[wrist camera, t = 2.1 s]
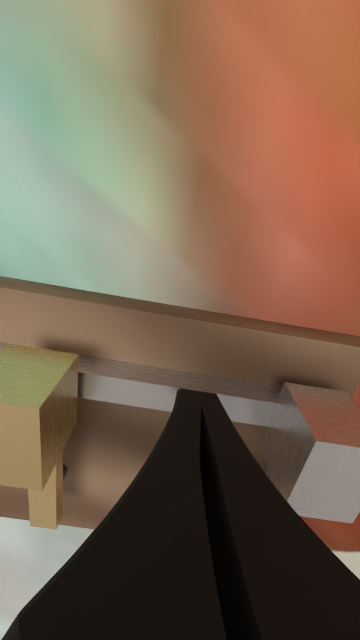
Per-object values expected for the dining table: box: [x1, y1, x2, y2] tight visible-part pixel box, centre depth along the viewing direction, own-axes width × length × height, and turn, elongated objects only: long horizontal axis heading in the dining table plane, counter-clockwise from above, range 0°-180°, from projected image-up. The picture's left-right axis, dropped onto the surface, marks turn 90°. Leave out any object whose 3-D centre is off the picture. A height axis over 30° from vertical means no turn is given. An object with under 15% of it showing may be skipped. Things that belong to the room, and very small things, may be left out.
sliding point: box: [0, 344, 79, 529], centre depth 11 cm, size 9×2×4 cm, turn 170°
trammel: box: [0, 342, 360, 523], centre depth 11 cm, size 9×21×4 cm, turn 80°
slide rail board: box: [0, 277, 360, 529], centre depth 14 cm, size 14×22×1 cm, turn 80°
